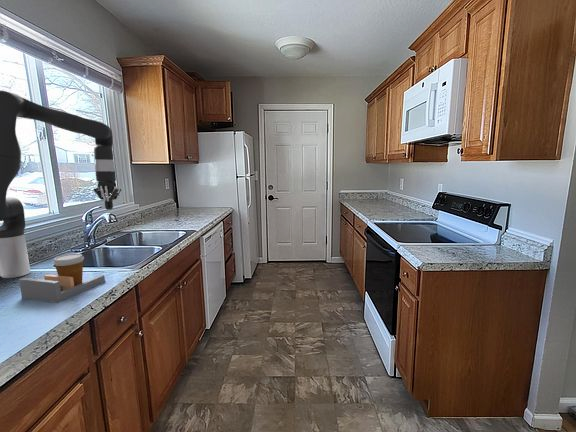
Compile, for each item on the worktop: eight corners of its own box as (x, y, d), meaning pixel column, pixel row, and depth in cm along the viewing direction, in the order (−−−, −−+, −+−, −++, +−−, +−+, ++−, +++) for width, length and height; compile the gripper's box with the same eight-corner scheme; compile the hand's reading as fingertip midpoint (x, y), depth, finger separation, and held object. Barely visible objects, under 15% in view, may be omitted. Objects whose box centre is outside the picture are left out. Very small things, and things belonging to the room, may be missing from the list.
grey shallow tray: (21, 298, 105) (18, 279, 104) (73, 278, 124) (70, 261, 123) (57, 302, 102) (54, 283, 100) (105, 281, 120) (103, 264, 119)
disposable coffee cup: (57, 294, 108) (53, 262, 106) (56, 286, 116) (51, 256, 114) (88, 287, 114) (85, 257, 112) (85, 280, 122) (82, 251, 120)
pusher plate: (40, 292, 109) (38, 277, 109) (49, 288, 113) (47, 274, 112) (66, 295, 107) (64, 280, 106) (75, 291, 110) (73, 276, 109)
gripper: (85, 170, 129) (89, 210, 132) (111, 170, 126) (115, 211, 129) (99, 170, 136) (103, 207, 139) (124, 170, 133) (128, 208, 136)
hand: (109, 209), depth 134 cm, fingers closed
